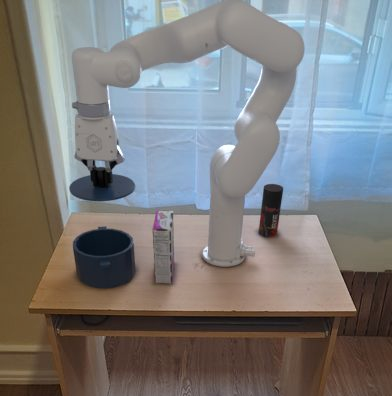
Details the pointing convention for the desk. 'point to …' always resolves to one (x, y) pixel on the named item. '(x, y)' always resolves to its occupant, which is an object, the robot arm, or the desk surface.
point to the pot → (104, 257)
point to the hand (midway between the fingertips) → (102, 184)
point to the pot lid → (102, 187)
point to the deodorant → (270, 210)
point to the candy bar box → (163, 247)
